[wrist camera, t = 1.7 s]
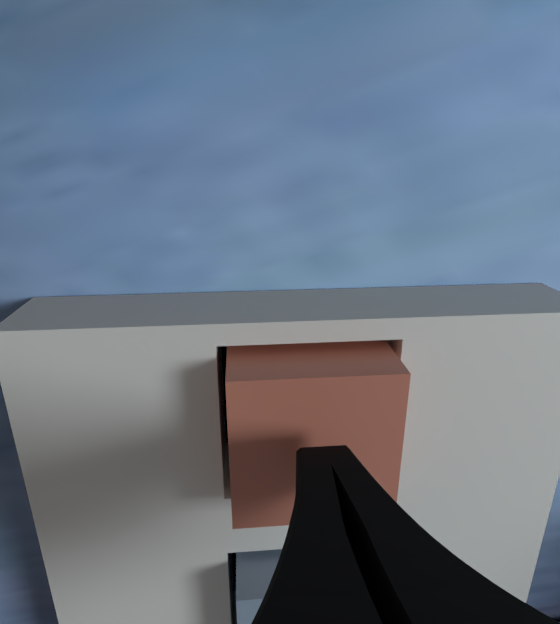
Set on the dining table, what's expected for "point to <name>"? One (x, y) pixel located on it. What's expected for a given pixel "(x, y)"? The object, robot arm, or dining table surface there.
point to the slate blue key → (253, 581)
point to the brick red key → (309, 418)
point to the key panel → (214, 451)
